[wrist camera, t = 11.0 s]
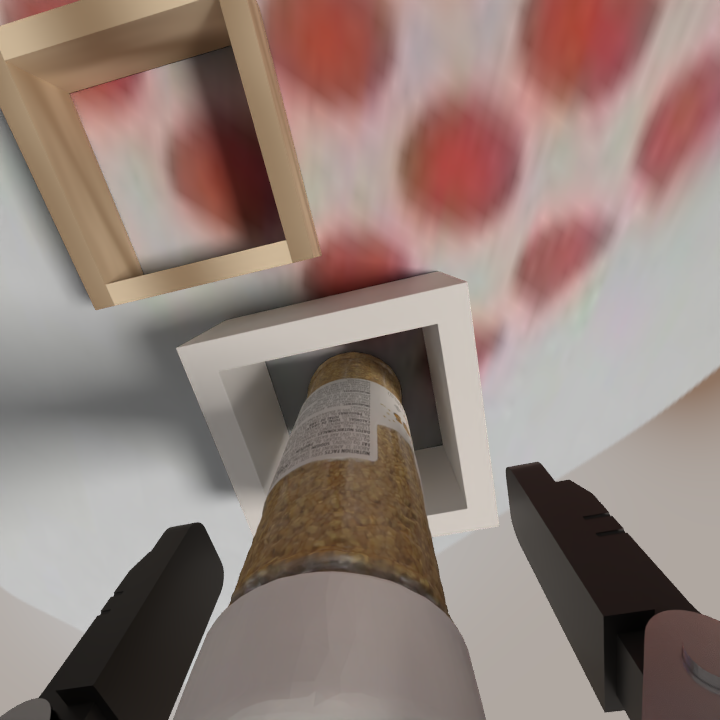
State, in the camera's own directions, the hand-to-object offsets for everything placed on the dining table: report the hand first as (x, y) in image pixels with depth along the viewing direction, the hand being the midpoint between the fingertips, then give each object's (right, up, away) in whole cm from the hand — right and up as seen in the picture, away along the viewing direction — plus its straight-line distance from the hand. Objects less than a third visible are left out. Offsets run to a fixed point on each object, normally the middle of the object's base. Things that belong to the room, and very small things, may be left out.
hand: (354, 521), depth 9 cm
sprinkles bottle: (0, +3, +8) cm, 9 cm away
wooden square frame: (-7, +12, +5) cm, 14 cm away
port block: (0, +3, +8) cm, 8 cm away
